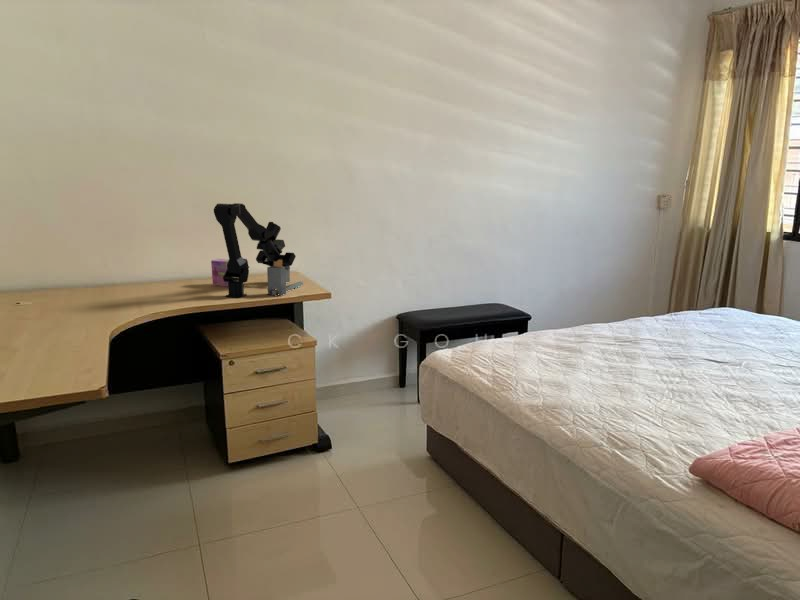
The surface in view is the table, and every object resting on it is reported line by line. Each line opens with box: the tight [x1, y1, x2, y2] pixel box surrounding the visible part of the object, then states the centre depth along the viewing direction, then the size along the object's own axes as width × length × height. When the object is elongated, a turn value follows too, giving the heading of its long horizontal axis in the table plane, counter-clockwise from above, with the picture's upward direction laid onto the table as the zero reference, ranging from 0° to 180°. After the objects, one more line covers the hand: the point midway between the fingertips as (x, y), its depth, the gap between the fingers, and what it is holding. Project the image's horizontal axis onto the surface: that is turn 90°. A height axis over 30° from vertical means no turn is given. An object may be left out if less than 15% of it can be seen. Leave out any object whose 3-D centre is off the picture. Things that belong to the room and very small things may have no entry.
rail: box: [271, 281, 304, 296], centre depth 266 cm, size 24×2×2 cm, turn 161°
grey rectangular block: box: [273, 260, 291, 282], centre depth 283 cm, size 4×6×12 cm
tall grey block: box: [266, 266, 287, 296], centre depth 256 cm, size 4×6×12 cm
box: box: [210, 258, 237, 287], centre depth 274 cm, size 10×6×12 cm, turn 73°
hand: (283, 268), depth 284 cm, fingers closed on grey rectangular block, 6 cm apart
